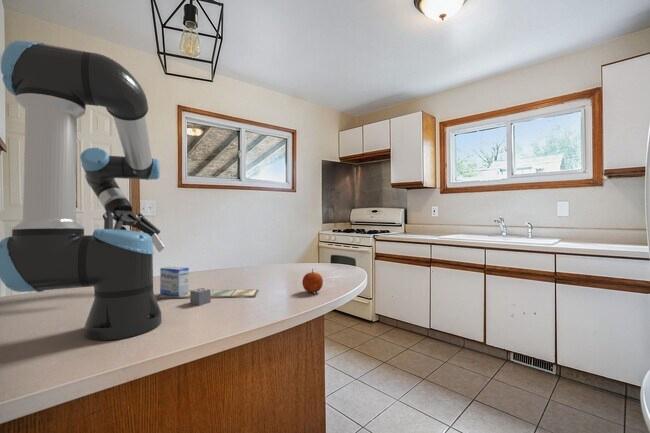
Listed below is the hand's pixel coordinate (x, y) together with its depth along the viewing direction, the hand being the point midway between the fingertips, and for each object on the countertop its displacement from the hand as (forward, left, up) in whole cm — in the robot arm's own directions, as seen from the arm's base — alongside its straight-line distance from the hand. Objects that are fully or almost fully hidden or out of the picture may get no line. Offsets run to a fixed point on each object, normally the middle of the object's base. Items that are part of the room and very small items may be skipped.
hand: (146, 250), depth 101 cm
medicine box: (-9, -6, -14) cm, 18 cm away
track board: (-16, -15, -14) cm, 27 cm away
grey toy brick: (-24, -10, -15) cm, 29 cm away
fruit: (-37, -42, -15) cm, 58 cm away
